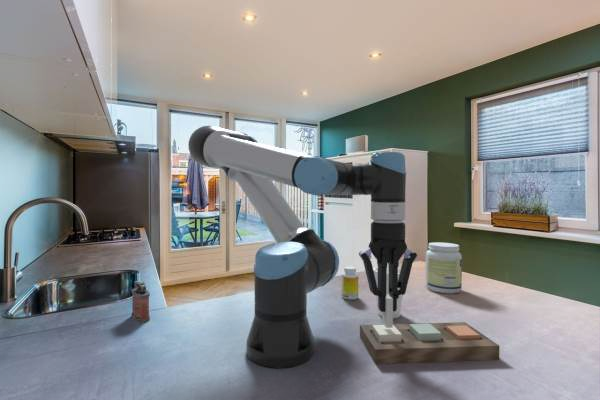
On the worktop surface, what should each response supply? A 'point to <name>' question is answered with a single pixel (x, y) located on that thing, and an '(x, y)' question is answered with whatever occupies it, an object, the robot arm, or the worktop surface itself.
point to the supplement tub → (444, 268)
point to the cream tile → (386, 334)
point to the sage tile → (424, 332)
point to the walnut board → (428, 346)
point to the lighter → (140, 303)
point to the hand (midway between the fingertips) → (387, 325)
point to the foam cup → (399, 300)
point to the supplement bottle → (349, 283)
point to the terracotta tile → (462, 332)
